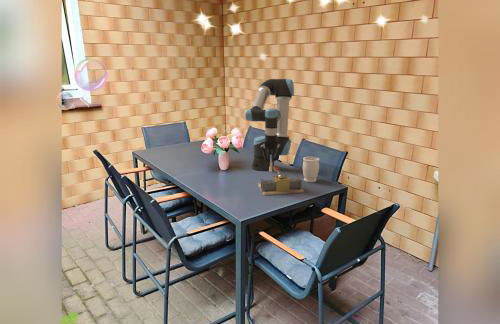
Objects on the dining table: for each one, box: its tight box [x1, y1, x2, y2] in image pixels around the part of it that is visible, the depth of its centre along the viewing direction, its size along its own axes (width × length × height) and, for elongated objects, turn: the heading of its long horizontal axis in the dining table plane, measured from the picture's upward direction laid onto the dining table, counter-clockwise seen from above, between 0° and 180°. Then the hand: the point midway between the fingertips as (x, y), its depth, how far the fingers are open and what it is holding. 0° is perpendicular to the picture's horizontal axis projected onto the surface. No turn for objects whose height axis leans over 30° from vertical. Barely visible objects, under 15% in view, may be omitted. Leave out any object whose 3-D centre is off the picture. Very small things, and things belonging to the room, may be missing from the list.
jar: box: [302, 156, 320, 183], centre depth 231 cm, size 11×10×15 cm
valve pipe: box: [260, 174, 303, 192], centre depth 214 cm, size 8×24×8 cm, turn 100°
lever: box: [272, 165, 285, 178], centre depth 219 cm, size 18×4×2 cm, turn 10°
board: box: [257, 182, 305, 196], centre depth 219 cm, size 18×25×1 cm
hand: (270, 171), depth 221 cm, fingers closed
